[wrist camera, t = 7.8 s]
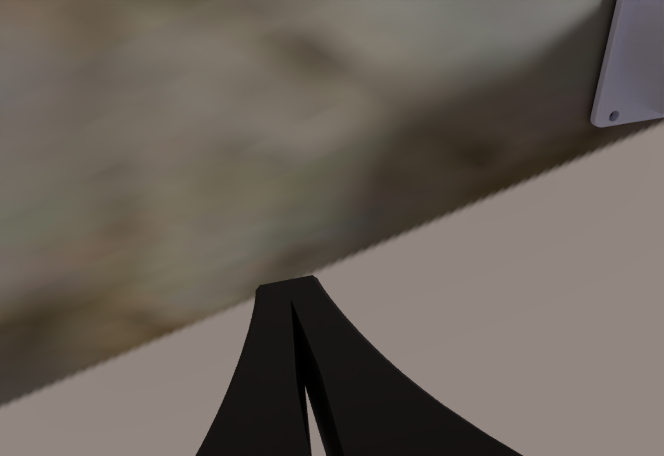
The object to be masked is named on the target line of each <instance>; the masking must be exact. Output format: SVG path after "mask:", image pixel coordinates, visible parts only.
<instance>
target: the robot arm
mask: <svg viewBox="0 0 664 456" xmlns="http://www.w3.org/2000/svg"><path fill="white" fill-rule="evenodd" d="M612 112H613V114H612V116H611V117H610V118H609V116H610V114H611V113H612ZM663 117H664V0H617V2H616V7H615V11H614V16H613V20H612V24H611V29H610V33H609V38H608V42H607V47H606V51H605V55H604V60H603V64H602V69H601V73H600V78H599V82H598V86H597V91H596V95H595V100H594V104H593V109H592V113H591V119H590V121H591V123H592V124H593V125H594V126H597V127H607V126H614V125H620V124H626V123H632V122H638V121H645V120H651V119H657V118H663ZM305 387H306V390H307V394H308V397H309V400H310V403H311V407H312V410H313V413H314V416H315V419H316V423H317V426H318V430H319V433H320V436H321V439H322V443H323V446H324V449H325V452H326V456H523V455H521V454H519V453H518V452H516V451H514V450H513V449H511V448H509V447H508V446H506V445H504V444H503V443H501V442H499V441H498V440H496V439H494V438H493V437H491V436H489V435H488V434H486V433H485V432H483V431H482V430H480V429H479V428H477V427H475V426H474V425H473V424H471V423H470V422H468V421H467V420H465V419H464V418H462V417H461V416H459V415H458V414H456V413H455V412H453V411H452V410H450V409H449V408H447V407H446V406H444V405H443V404H442V403H440V402H439V401H438V400H436V399H435V398H434V397H432V396H431V395H430V394H428V393H427V392H426V391H424V390H423V389H422V388H420V387H419V386H418V385H417V384H416V383H414V382H413V381H412V380H411V379H409V378H408V377H407V376H406V375H404V374H403V373H402V372H401V371H400V370H399V369H397V368H396V367H395V366H394V365H393V364H392V363H391V362H390V361H389V360H387V359H386V358H385V357H384V356H383V355H382V354H381V353H380V352H379V351H378V350H377V349H376V348H375V347H374V346H373V345H372V344H371V343H370V342H369V341H368V340H367V339H366V338H365V337H364V336H363V335H362V334H361V333H360V332H359V331H358V330H357V329H356V327H355V326H354V325H353V324H352V323H351V322H350V321H349V320H348V319H347V318H346V316H344V314H343V313H342V312H341V311H340V309H339V308H338V307H337V306H336V304H335V303H334V302H333V301H332V299H331V298H330V297H329V295H328V294H327V293H326V291H325V290H324V288H323V287H322V285H321V284H320V282H319V280H318V279H317V278H316V277H314V276H313V275H310V276H305V277H300V278H295V279H290V280H285V281H280V282H274V283H269V284H264V285H260V286H259V287H258V288H257V289H256V296H255V304H254V310H253V314H252V319H251V322H250V326H249V330H248V333H247V337H246V340H245V343H244V347H243V350H242V353H241V356H240V359H239V362H238V364H237V367H236V369H235V372H234V375H233V377H232V380H231V382H230V385H229V388H228V390H227V392H226V395H225V397H224V399H223V402H222V404H221V406H220V408H219V410H218V413H217V415H216V417H215V419H214V421H213V423H212V425H211V427H210V429H209V431H208V433H207V435H206V437H205V439H204V441H203V443H202V445H201V447H200V448H199V450H198V452H197V454H196V456H312V454H311V443H310V433H309V424H308V413H307V403H306V393H305Z"/></svg>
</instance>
